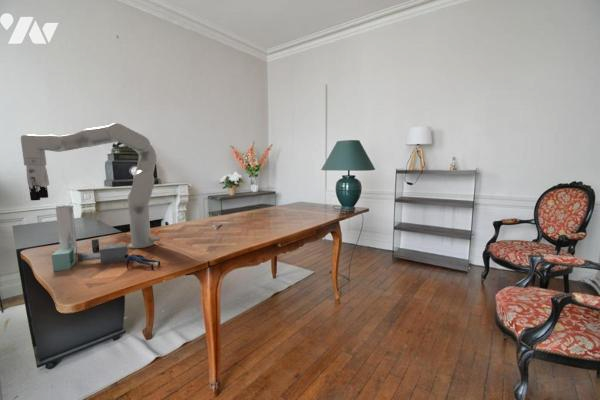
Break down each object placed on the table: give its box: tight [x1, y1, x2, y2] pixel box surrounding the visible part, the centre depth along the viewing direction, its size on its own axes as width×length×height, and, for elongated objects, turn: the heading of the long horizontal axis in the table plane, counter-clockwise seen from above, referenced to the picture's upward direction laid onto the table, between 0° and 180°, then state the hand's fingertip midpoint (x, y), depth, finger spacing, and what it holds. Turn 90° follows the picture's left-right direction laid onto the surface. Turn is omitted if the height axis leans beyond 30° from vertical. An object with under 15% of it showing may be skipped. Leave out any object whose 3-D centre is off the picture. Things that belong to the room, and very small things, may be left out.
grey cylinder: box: [55, 204, 78, 255], centre depth 139 cm, size 6×6×25 cm
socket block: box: [51, 248, 76, 272], centre depth 123 cm, size 6×9×7 cm, turn 27°
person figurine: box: [125, 253, 161, 271], centre depth 124 cm, size 11×4×18 cm
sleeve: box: [99, 242, 129, 265], centre depth 131 cm, size 10×7×7 cm
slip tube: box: [77, 238, 101, 263], centre depth 128 cm, size 17×4×10 cm, turn 117°
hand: (40, 199), depth 130 cm, fingers open, 9 cm apart
